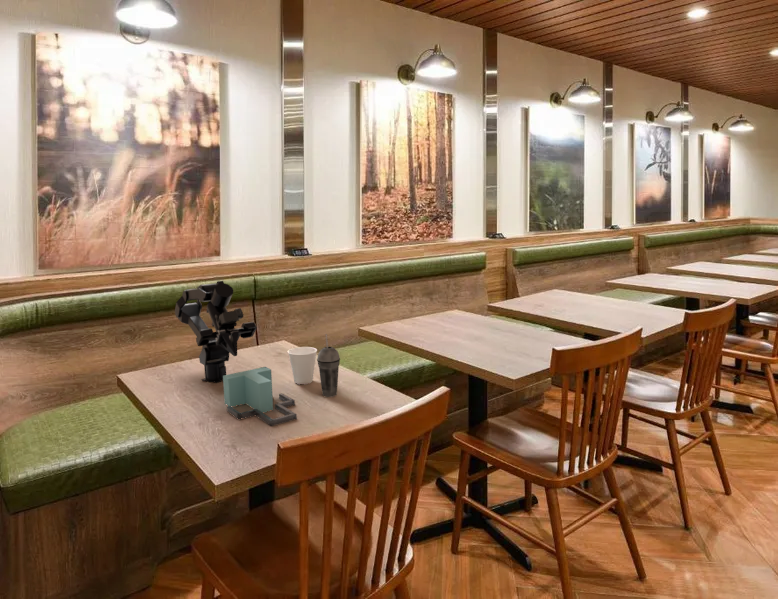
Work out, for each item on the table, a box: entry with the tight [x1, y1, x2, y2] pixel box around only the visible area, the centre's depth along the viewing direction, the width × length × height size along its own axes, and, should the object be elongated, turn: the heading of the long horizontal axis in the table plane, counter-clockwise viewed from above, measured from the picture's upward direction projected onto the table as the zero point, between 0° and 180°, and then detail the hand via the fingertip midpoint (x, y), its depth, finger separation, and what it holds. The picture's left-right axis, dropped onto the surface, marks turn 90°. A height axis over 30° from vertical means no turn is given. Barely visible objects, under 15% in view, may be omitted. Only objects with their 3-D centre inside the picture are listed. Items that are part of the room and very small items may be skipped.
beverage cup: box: [316, 333, 341, 398], centre depth 182 cm, size 7×7×20 cm
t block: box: [222, 366, 274, 413], centre depth 174 cm, size 14×14×9 cm
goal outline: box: [226, 392, 298, 427], centre depth 169 cm, size 18×18×2 cm
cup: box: [287, 346, 318, 385], centre depth 195 cm, size 10×10×11 cm
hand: (235, 355), depth 183 cm, fingers closed
